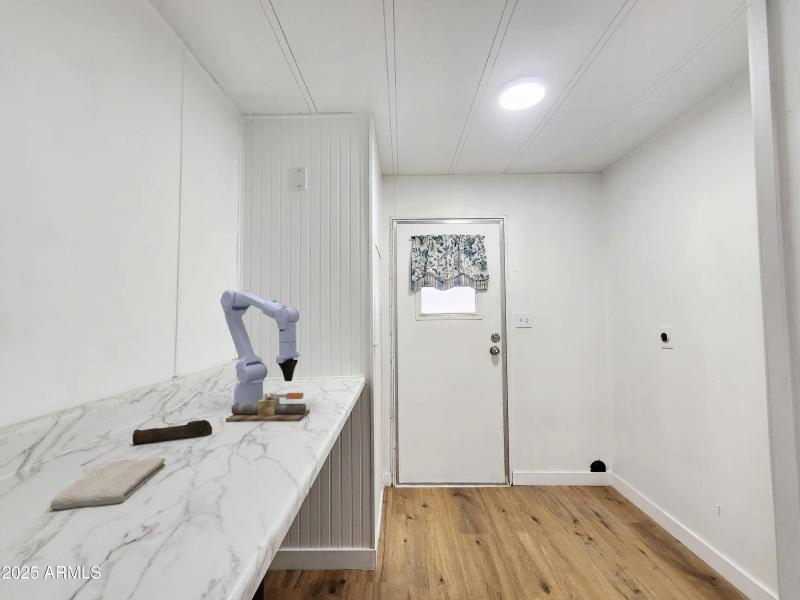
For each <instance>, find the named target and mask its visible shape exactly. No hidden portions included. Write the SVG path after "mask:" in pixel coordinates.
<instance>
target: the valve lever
mask: <svg viewBox="0 0 800 600" xmlns="http://www.w3.org/2000/svg"><path fill="white" fill-rule="evenodd" d="M264 398H279V399H280V398H285V399H286V400H302V399H303V398H304V392H287V393H283V394H282V393H279V394H278V393H277V394H276V393H275V394H274V393H265V394H264Z"/></svg>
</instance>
